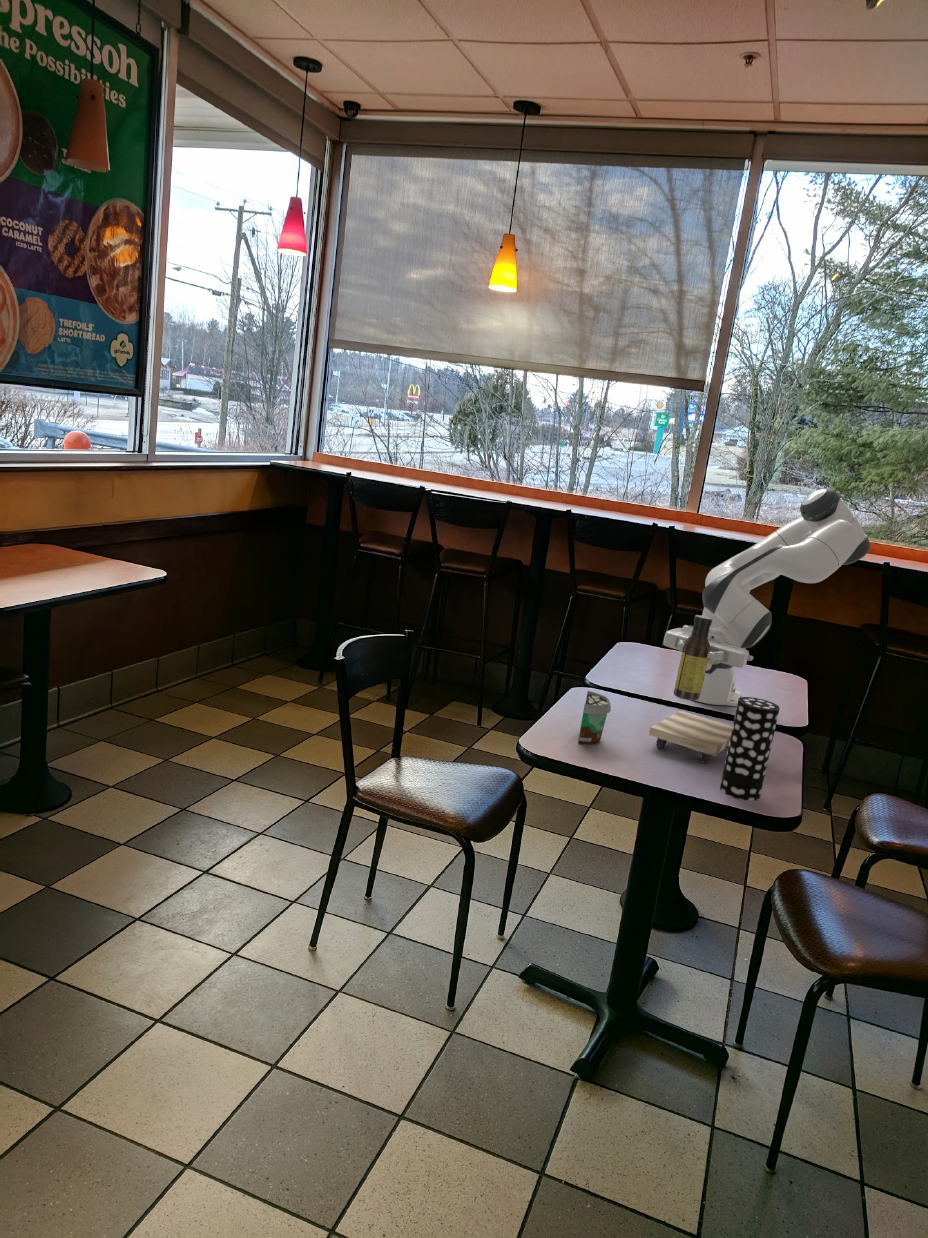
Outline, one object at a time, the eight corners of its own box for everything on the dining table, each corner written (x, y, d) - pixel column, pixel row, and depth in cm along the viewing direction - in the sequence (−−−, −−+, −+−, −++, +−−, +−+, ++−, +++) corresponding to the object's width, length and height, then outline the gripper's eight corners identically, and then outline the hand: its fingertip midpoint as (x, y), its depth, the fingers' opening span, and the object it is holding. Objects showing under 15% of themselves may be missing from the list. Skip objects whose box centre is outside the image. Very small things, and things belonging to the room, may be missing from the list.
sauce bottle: (704, 702, 205) (724, 621, 201) (683, 701, 203) (703, 619, 199) (687, 693, 211) (706, 614, 207) (666, 692, 208) (685, 612, 204)
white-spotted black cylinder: (768, 800, 182) (788, 710, 178) (734, 801, 179) (753, 709, 175) (744, 784, 190) (763, 697, 185) (712, 784, 187) (730, 696, 183)
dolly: (676, 729, 222) (679, 710, 220) (737, 748, 213) (742, 729, 212) (646, 746, 205) (650, 727, 204) (712, 768, 197) (716, 747, 196)
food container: (604, 750, 199) (611, 709, 196) (577, 745, 200) (584, 704, 197) (606, 734, 210) (613, 695, 208) (581, 729, 211) (587, 690, 209)
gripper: (752, 670, 210) (734, 677, 199) (673, 646, 221) (652, 652, 210) (758, 645, 209) (741, 651, 198) (679, 623, 220) (658, 627, 209)
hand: (694, 651), depth 204 cm, fingers closed on sauce bottle, 6 cm apart
